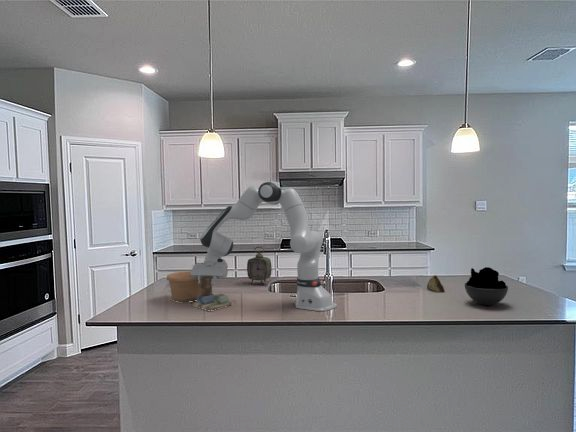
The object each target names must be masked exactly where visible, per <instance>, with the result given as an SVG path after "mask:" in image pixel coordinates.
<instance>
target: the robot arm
mask: <svg viewBox="0 0 576 432" xmlns="http://www.w3.org/2000/svg"><path fill="white" fill-rule="evenodd" d="M262 203H265V204H266V203H267V204H270V205H278V204H280V206H281V208H282V210H283V213H284V216H285V219H286V221H287V223H288V225H289V226H288V227H289V231H290V237H291V238H290V241H289V246H290V248H291V250H292V251H293V252H294V253H296V254H300V256H299V259H298V262H297V265H296V267H297V278H296V285H297V290H296V299H295V303H294V305H295V308H296V309H301V310H302V309H303V310H307V311H308V310H309V311H315V312H326V311H330V310H333V309H335V308H336V307H338V305H337V303H335V302H333V298H332V295H331V293H330V292H329V291H327V289H325V288H324V286H323V285H322V283H323V279H322V280H320V278H319V277H320V276H319V259H320V255H321V249H322V245H323V243H324V237H323V235H322V233H321V232H319V231H316V230H313V229H311V230H310V227H309V214H308V213H307V211H306V208H305V206H304V203H303V200H302V198H301V197H300V196H299V194H298V192H297V190H296V189H294V188H291V187H289V188H286V189H282V187H280V186H279V185H278V184H276V183H274V182H271V181H266V182H263V183H261V184H260V186H259V187H258V186H254V185H251V186H248V187H247V188H246V190H245V191H244V192H243V193H242V194H241V196H240V197H239V198H238V200H237V202H236V203H234V204H232V205H229V206H227V207H225V208H224V210H222V211H221V212H220V214H219V215H218V216H217V217H216V218H215V220H213V222H212V223H210V225H209V226H208V227H207V228H206V229H205V230H204V231H203V232H202V234H201V235H200V237H199V239H200V240H199V241H200V243H201V245H202V246H203V247H206V248H207V253H206V255H205V257H204V261H203V262H196V263H194V264H193V266H192V268H191V270H190V271H191V272H190V275H191V277H192V278H198V280H199V282H198V284H199V285H200V279H201V278H203V277H210V278H212V281H210V285H212V286H213V285H214V283H215V282H216V281H217V280H225V279H227V277H228V271H229V270H228V263H227V261H226V260H225V259H224V258H223V257H226V256H228V255H230V254H231V253H232V251H233V249H234V242H233V240H232V239H231V238H229V237H227V236H226V235H224V234H222V233H220V232H218V230H219V229H220V228H221V227H222V225H223V224H224V223H225V222H226V221H228V220H240V221H246V220H249V219H251V218H252V217H253V216H254V214H255V213H256V211H257V210H258V208H259V206H260V205H261V204H262Z"/></svg>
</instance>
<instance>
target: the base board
mask: <svg viewBox="0 0 576 432" xmlns="http://www.w3.org/2000/svg"><path fill="white" fill-rule="evenodd" d="M232 304H233V303H232V301H230V300H229V295H228V294H224V293H220V292H219V293H217V294H214V293H212V294H211V295H210V296H201V294H200V295H197V301H195V302H191V306H192V305H194V306H197V307H200V308H203V309H206V310H205V311H207V310H210V311H209V312H212V311H211V310H214V311H216V310H215V309H218V308H221V307H225V306H228V307H230V306H229V305H232ZM197 307H196V308H197ZM200 308H199V309H200ZM225 308H226V307H225ZM203 309H202V310H203ZM221 309H222V308H221ZM218 310H219V309H218Z"/></svg>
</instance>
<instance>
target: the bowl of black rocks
mask: <svg viewBox="0 0 576 432" xmlns="http://www.w3.org/2000/svg"><path fill="white" fill-rule="evenodd" d="M499 275H500V273H499V272H498V271H497V270H495V269H493V268H491V267H489V266H487V267H486V266H485V267H483V268H481V269H479V271H477V270H476V271H475V268H473V267H471V269H470V277H469V278H468V280H467V281H466V282H465V283H464V290H465V292H466V294H467V295H468V296H469V298H470V299H471V300H473V301H474V302H476V303H478V304H480V305H483V306H492V305H495V304H499V303H500V302H501V301H503V300H504V298H505V297H506V296H507V293H508V291H509V286H508V285H507V284H506V282H505V281H504V280H499Z"/></svg>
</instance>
